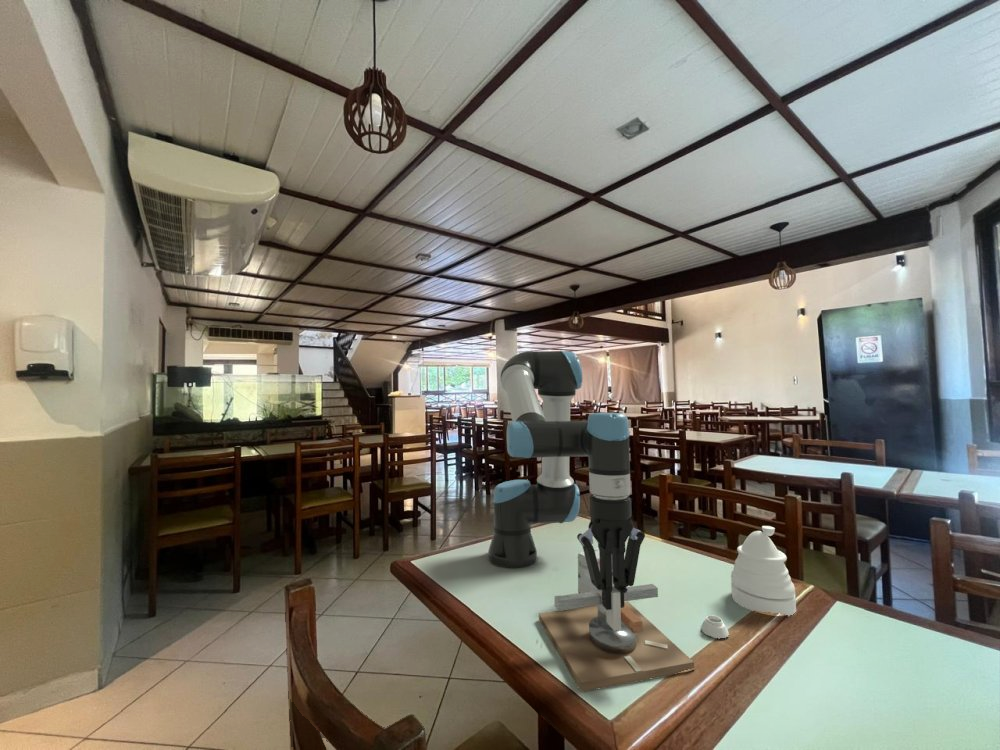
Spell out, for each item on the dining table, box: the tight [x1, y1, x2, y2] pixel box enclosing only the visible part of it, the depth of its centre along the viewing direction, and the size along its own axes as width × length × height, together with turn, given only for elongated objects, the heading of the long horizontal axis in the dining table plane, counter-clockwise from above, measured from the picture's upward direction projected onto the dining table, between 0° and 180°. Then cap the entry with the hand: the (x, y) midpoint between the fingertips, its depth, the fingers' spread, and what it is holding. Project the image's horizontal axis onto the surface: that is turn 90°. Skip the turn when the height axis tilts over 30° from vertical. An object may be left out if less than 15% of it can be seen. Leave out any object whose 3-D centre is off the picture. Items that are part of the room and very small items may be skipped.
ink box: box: [577, 546, 613, 607], centre depth 94 cm, size 8×5×12 cm, turn 123°
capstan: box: [553, 569, 659, 653], centre depth 78 cm, size 22×22×9 cm
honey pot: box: [730, 525, 797, 617], centre depth 94 cm, size 13×13×18 cm
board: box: [538, 601, 695, 693], centre depth 78 cm, size 22×22×2 cm
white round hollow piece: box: [700, 614, 730, 640], centre depth 81 cm, size 5×3×5 cm
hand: (613, 625), depth 71 cm, fingers closed
